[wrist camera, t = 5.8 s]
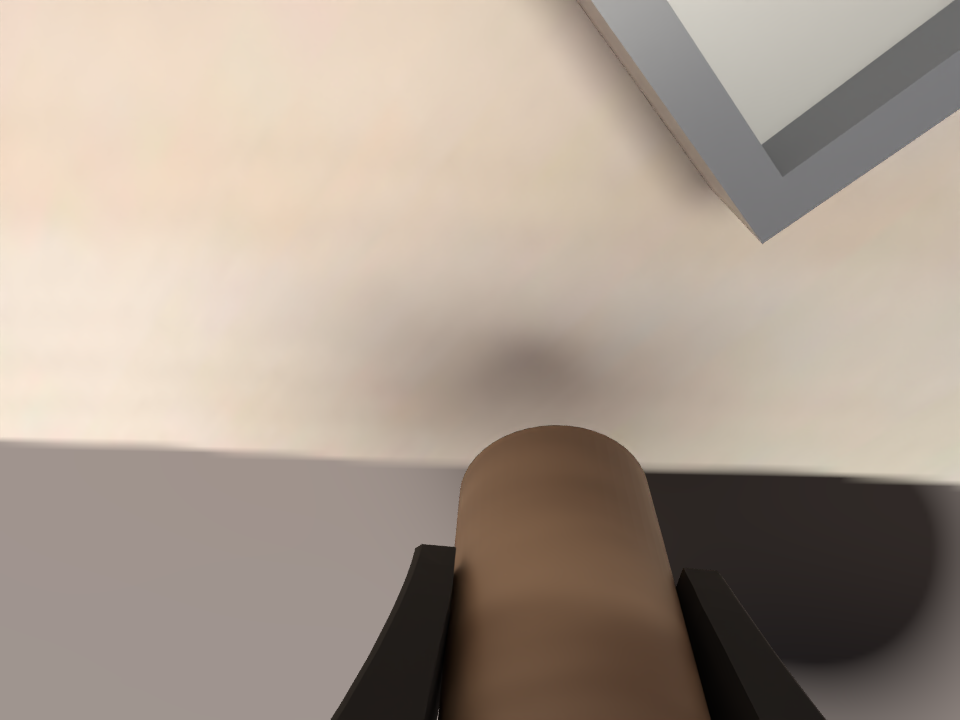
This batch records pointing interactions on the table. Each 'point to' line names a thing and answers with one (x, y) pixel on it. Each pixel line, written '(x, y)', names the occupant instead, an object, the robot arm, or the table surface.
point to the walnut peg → (564, 589)
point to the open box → (788, 89)
